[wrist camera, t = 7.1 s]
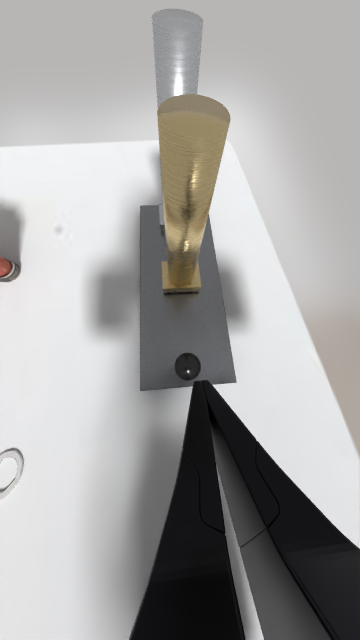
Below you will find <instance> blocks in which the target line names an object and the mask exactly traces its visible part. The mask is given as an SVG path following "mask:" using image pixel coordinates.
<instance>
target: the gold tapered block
mask: <svg viewBox="0 0 360 640" xmlns="http://www.w3.org/2000/svg"><path fill="white" fill-rule="evenodd" d="M157 115H158V128H159V129H158V130H159V145H160V160H161V175H162V190H163V205H164V220H165V235H166V250H167V261H163V262H162V284H163V293H171V292H191V291H200V289H201V280H200V272H199V264H198V256H199V251H200V247H201V243H202V239H203V234H204V230H205V226H206V221H207V217H208V213H209V209H210V204H211V200H212V196H213V192H214V187H215V183H216V179H217V175H218V170H219V166H220V162H221V157H222V153H223V149H224V145H225V140H226V136H227V131H228V128H229V123H230V114H229V112H228V110H227V109H226V108H225V107H224V106H223V105H222V104H221V103H219V102H217V101H216V100H214V99H211V98H209V97H205V96H201V95H195V94H183V95H177V96H173V97H170V98H168V99H166V100H165V101H163V102H162V103H161V104H160V106H159V108H158V113H157Z"/></svg>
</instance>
